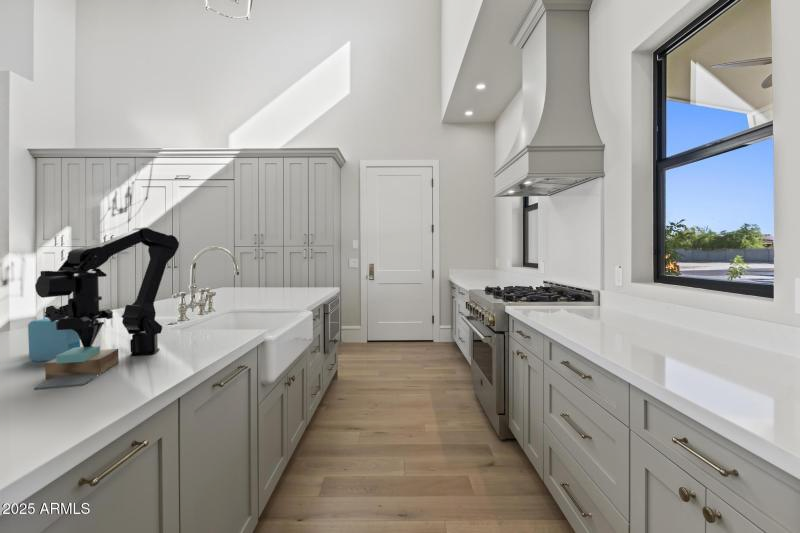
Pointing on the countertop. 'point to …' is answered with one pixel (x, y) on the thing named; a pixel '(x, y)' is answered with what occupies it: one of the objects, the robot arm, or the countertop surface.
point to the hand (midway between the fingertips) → (87, 349)
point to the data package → (49, 340)
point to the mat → (67, 381)
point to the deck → (83, 365)
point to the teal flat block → (78, 354)
